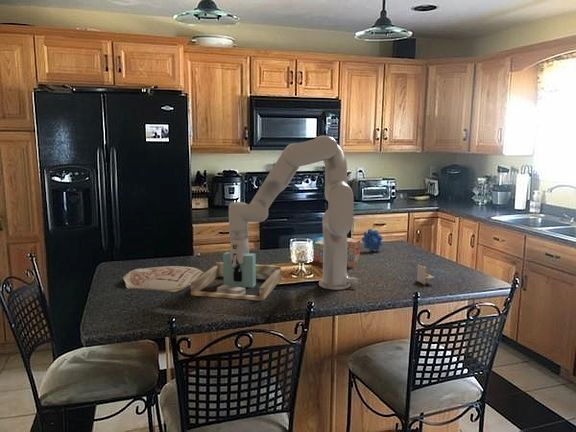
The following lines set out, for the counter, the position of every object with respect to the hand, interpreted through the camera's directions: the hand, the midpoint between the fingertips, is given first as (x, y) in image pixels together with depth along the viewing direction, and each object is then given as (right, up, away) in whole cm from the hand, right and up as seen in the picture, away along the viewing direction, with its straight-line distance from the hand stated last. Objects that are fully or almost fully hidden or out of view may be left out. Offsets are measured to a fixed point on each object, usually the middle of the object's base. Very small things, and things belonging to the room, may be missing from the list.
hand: (239, 279), depth 192 cm
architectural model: (+74, -3, +8) cm, 75 cm away
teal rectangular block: (0, -4, +1) cm, 4 cm away
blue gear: (+63, +6, +59) cm, 87 cm away
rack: (0, -4, -1) cm, 4 cm away
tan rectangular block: (+42, +2, +38) cm, 56 cm away
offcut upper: (-2, -4, -9) cm, 10 cm away
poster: (-32, -3, +12) cm, 35 cm away
